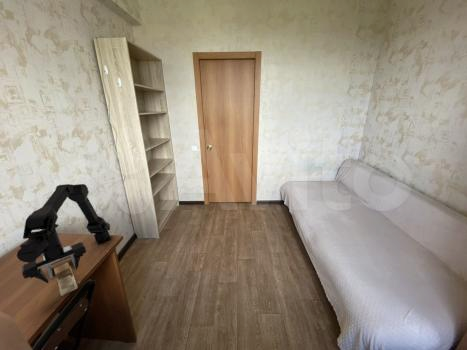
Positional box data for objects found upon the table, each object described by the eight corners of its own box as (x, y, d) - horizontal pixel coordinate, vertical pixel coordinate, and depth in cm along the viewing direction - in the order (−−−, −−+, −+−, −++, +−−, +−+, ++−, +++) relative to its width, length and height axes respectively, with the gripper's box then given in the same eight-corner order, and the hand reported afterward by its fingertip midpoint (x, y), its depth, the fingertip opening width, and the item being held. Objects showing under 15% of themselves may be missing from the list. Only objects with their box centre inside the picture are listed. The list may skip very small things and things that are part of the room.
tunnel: (74, 258, 104) (69, 245, 101) (77, 266, 98) (72, 252, 96) (48, 269, 97) (42, 256, 94) (50, 278, 92) (44, 264, 89)
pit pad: (72, 253, 107) (71, 252, 107) (72, 255, 106) (72, 255, 106) (47, 263, 101) (47, 263, 101) (47, 266, 99) (47, 265, 99)
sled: (70, 267, 97) (67, 257, 95) (78, 288, 86) (73, 277, 84) (56, 274, 94) (52, 263, 92) (61, 297, 82) (56, 285, 80)
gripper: (75, 225, 89) (85, 254, 94) (15, 246, 76) (30, 278, 81) (81, 235, 81) (91, 266, 86) (15, 260, 69) (31, 294, 74)
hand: (62, 275), depth 82 cm, fingers open, 9 cm apart
